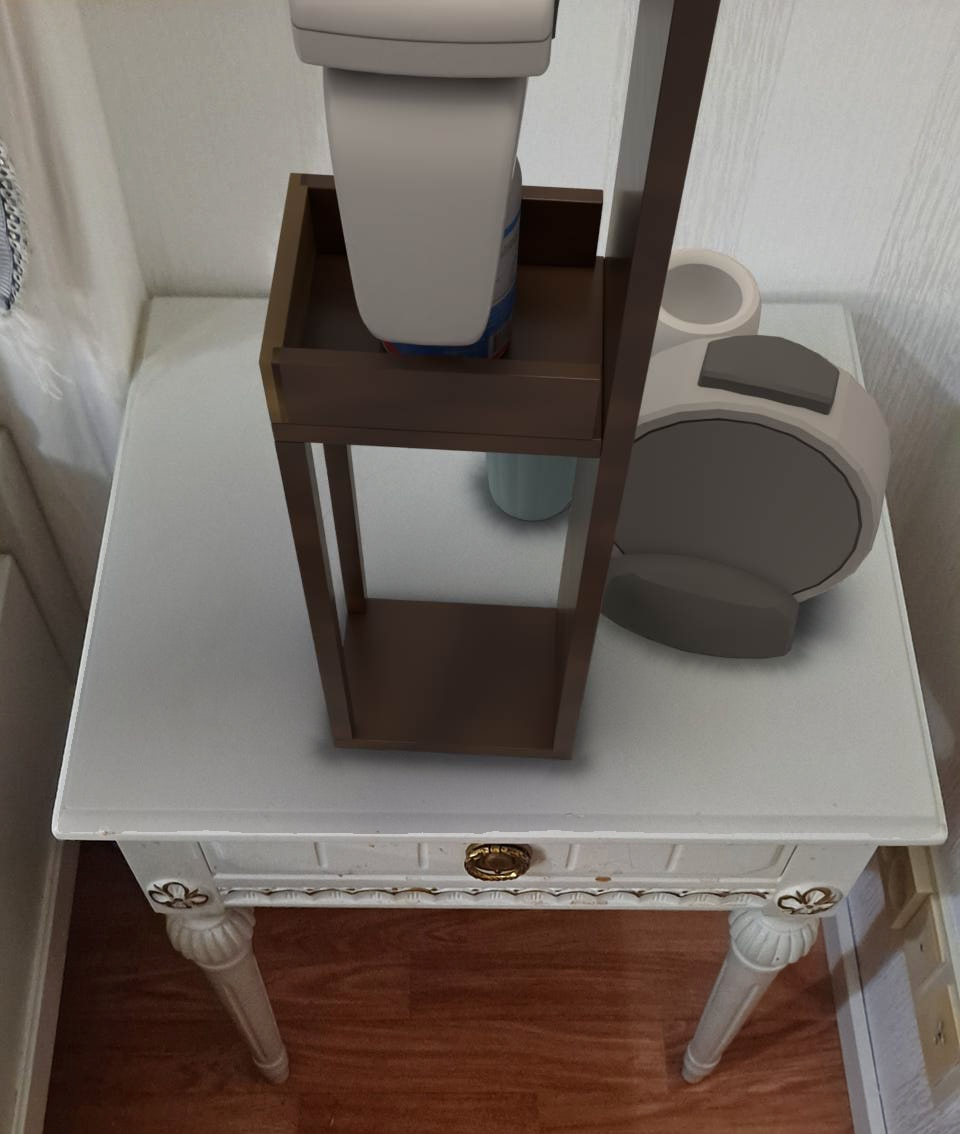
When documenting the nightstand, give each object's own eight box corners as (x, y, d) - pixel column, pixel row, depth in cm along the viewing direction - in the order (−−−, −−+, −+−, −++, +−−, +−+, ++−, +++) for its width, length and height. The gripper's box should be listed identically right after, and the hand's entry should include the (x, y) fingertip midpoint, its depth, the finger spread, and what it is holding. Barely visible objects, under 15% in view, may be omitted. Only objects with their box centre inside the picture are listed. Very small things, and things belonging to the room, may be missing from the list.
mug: (611, 338, 82) (627, 240, 75) (731, 336, 82) (758, 238, 75) (628, 473, 77) (646, 382, 70) (754, 471, 78) (785, 380, 70)
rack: (333, 747, 69) (180, -32, 30) (349, 605, 73) (232, -243, 34) (571, 760, 69) (721, -3, 30) (574, 617, 73) (710, -218, 34)
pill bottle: (360, 303, 47) (338, 58, 38) (484, 272, 48) (491, 25, 39) (404, 400, 45) (392, 166, 36) (533, 366, 46) (552, 128, 37)
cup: (614, 501, 76) (635, 378, 67) (518, 554, 74) (526, 436, 65) (546, 426, 79) (558, 297, 69) (451, 476, 77) (450, 350, 67)
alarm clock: (839, 551, 75) (951, 320, 58) (814, 682, 71) (926, 475, 54) (595, 494, 76) (636, 252, 60) (558, 619, 73) (589, 398, 56)
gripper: (358, -397, 35) (383, 71, 48) (277, 42, 27) (334, 464, 40) (568, -385, 35) (537, 79, 48) (552, 57, 27) (520, 474, 40)
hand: (445, 257), depth 44 cm, fingers closed on pill bottle, 5 cm apart
